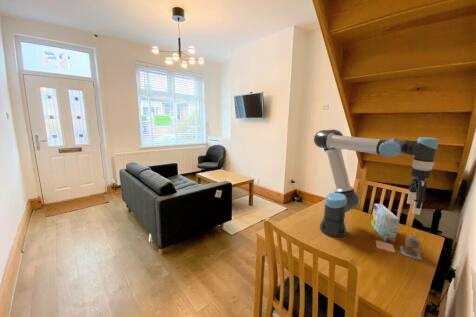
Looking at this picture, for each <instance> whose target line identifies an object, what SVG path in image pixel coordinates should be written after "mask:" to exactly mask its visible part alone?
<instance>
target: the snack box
mask: <svg viewBox="0 0 476 317" xmlns="http://www.w3.org/2000/svg"><path fill="white" fill-rule="evenodd" d="M371 213H372V215H371V221H370V225H371V226H372V227H373V229H374V230H375V232H376V233H378V235H379V236H380V237H381V238H382V239H383V242H386V243H390V244H395V243H396V238H397V234H398V230H399V225H400V218H399V217H398V216H396V215H395V214H394V213H393V212H392V211H390V210H389V208H387V207H386V206H385V205H384V204H381V203H373V207H372V212H371Z"/></svg>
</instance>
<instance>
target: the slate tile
mask: <svg viewBox="0 0 476 317" xmlns="http://www.w3.org/2000/svg"><path fill="white" fill-rule="evenodd" d="M403 248H404V246H401V245H399V249H400V252H401V253H400V254H401V255H402V256H406V257H410V258H412V259H417V260H420V261H422V260H423V259H422V257H421V254H420V251H419V252H418V257H417V256H413V255H409V254H406V253H405V251H404V249H403Z"/></svg>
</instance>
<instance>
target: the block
mask: <svg viewBox="0 0 476 317" xmlns="http://www.w3.org/2000/svg"><path fill="white" fill-rule="evenodd" d="M403 247H404V248H403V249H404V251H405V253H406V254H409V255H413V256H417V257H418V252H419V253H420V247H421V241H420V239H419V237H416V236H412V235H408V234H406V235H405V239H404V243H403Z"/></svg>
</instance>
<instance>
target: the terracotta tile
mask: <svg viewBox="0 0 476 317" xmlns="http://www.w3.org/2000/svg"><path fill="white" fill-rule="evenodd" d="M375 244H376V249H378V250H379V249H380V250H381V251H382V250H384V251H386V252H389V253H396V251H395V248H394V243H391V242H385V241H381V240H377V239H375Z"/></svg>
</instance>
